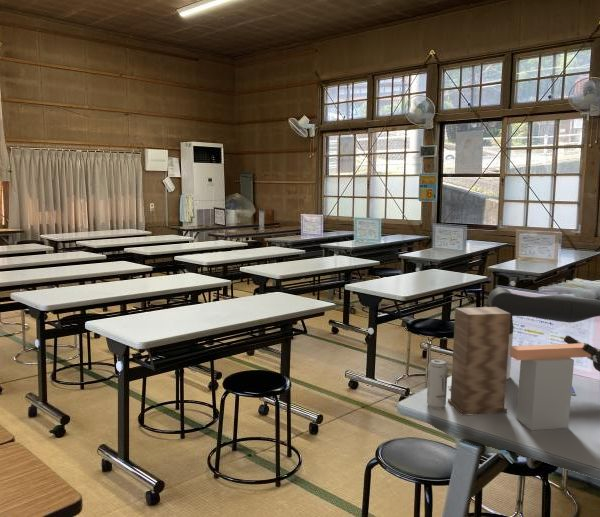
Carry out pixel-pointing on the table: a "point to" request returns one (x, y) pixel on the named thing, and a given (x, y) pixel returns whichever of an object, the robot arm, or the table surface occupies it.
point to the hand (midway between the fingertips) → (574, 341)
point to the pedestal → (480, 360)
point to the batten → (548, 351)
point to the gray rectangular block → (545, 393)
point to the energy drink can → (437, 384)
